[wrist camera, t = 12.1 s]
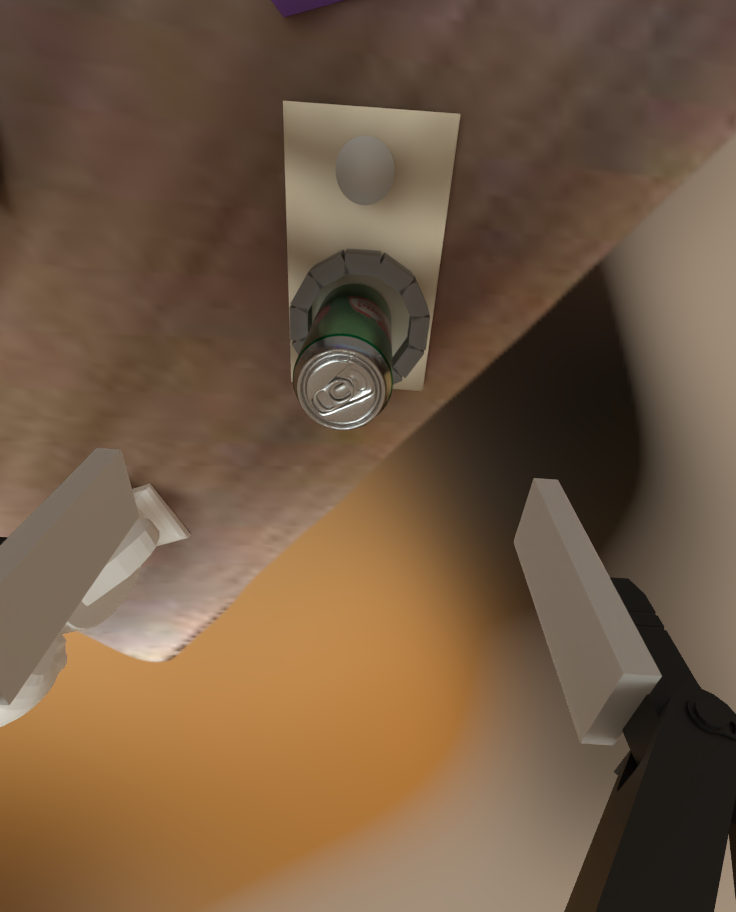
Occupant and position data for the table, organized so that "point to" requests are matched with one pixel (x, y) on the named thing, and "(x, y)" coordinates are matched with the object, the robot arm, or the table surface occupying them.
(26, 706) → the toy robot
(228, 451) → the table surface
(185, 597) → the table surface
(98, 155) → the table surface
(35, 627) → the robot arm
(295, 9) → the bracket
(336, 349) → the soda can
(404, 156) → the socket board
